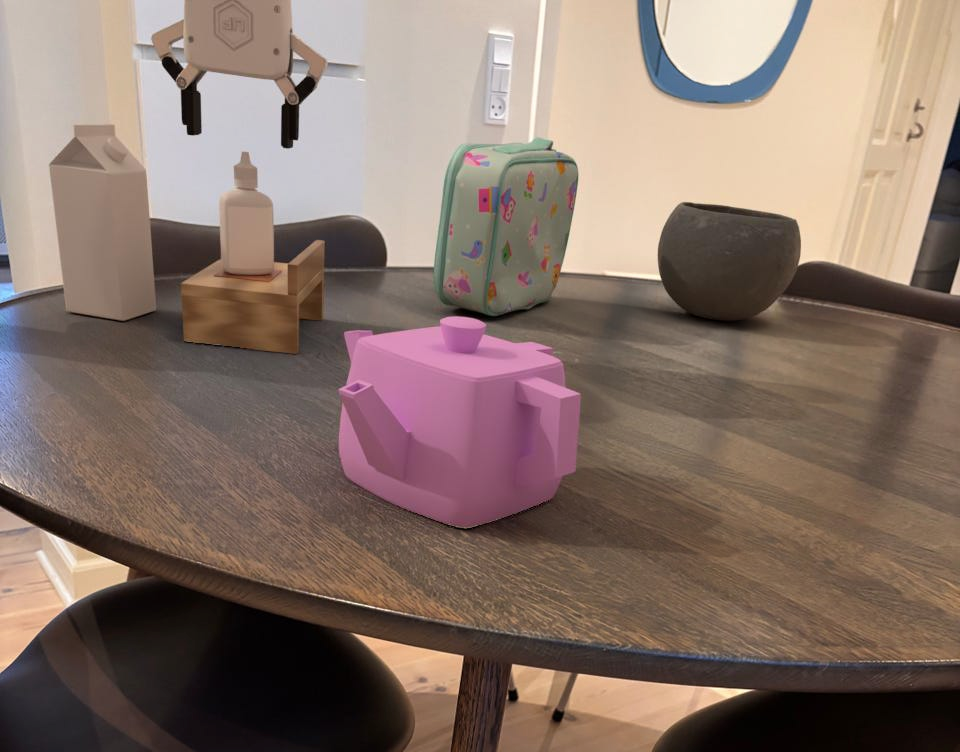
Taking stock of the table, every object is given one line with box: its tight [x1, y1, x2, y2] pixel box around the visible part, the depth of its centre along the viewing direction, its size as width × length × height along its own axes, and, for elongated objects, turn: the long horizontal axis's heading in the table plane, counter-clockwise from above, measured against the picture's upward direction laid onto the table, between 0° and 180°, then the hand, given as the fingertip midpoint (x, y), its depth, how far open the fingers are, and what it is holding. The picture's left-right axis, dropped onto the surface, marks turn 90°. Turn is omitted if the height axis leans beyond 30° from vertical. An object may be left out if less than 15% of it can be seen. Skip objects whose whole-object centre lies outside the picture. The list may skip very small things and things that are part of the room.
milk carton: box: [48, 124, 157, 322], centre depth 102 cm, size 7×7×19 cm
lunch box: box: [433, 136, 579, 317], centre depth 128 cm, size 27×10×21 cm, turn 154°
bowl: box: [657, 201, 802, 322], centre depth 138 cm, size 20×20×15 cm
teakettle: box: [338, 315, 582, 527], centre depth 68 cm, size 17×17×12 cm
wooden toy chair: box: [180, 239, 325, 355], centre depth 105 cm, size 12×18×9 cm, turn 179°
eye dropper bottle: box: [218, 151, 275, 275], centre depth 101 cm, size 4×6×12 cm
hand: (240, 141), depth 97 cm, fingers open, 9 cm apart
